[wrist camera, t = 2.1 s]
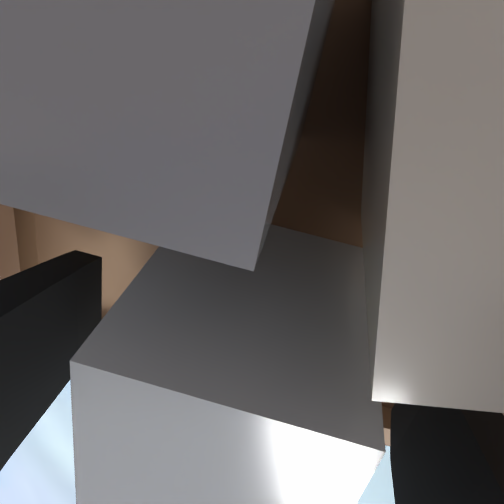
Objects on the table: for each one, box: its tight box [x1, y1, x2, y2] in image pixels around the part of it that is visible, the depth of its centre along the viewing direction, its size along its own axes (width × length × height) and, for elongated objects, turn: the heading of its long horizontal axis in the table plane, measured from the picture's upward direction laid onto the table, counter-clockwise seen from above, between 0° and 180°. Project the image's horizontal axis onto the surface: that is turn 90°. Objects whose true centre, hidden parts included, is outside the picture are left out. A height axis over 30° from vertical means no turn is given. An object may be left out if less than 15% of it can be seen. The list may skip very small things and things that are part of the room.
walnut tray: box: [0, 0, 504, 446], centre depth 9 cm, size 13×13×1 cm
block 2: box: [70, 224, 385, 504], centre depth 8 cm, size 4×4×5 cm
